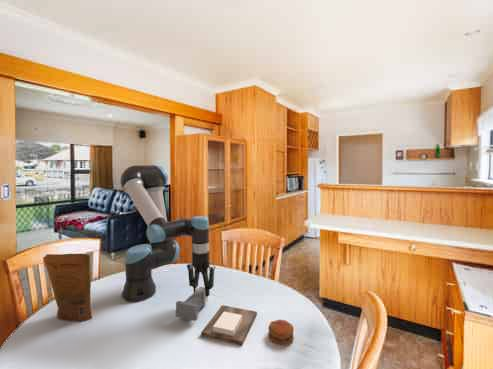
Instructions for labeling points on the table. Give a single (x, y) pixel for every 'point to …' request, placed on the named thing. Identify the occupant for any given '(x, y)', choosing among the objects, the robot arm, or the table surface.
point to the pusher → (190, 305)
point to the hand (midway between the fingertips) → (201, 301)
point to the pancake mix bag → (70, 285)
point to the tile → (227, 323)
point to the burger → (281, 332)
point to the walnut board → (241, 331)
